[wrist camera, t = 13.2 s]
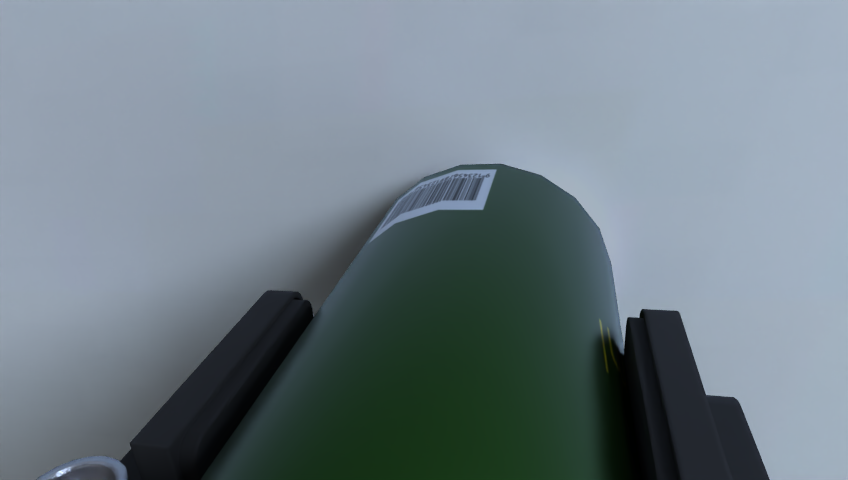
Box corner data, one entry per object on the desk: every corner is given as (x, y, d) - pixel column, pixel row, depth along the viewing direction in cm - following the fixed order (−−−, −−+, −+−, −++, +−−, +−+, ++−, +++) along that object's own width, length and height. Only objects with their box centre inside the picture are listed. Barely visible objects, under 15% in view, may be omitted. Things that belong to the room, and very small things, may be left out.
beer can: (338, 217, 15) (-264, 905, 4) (539, 107, 13) (402, 914, 2) (451, 385, 16) (227, 1231, 5) (649, 311, 14) (919, 1435, 3)
